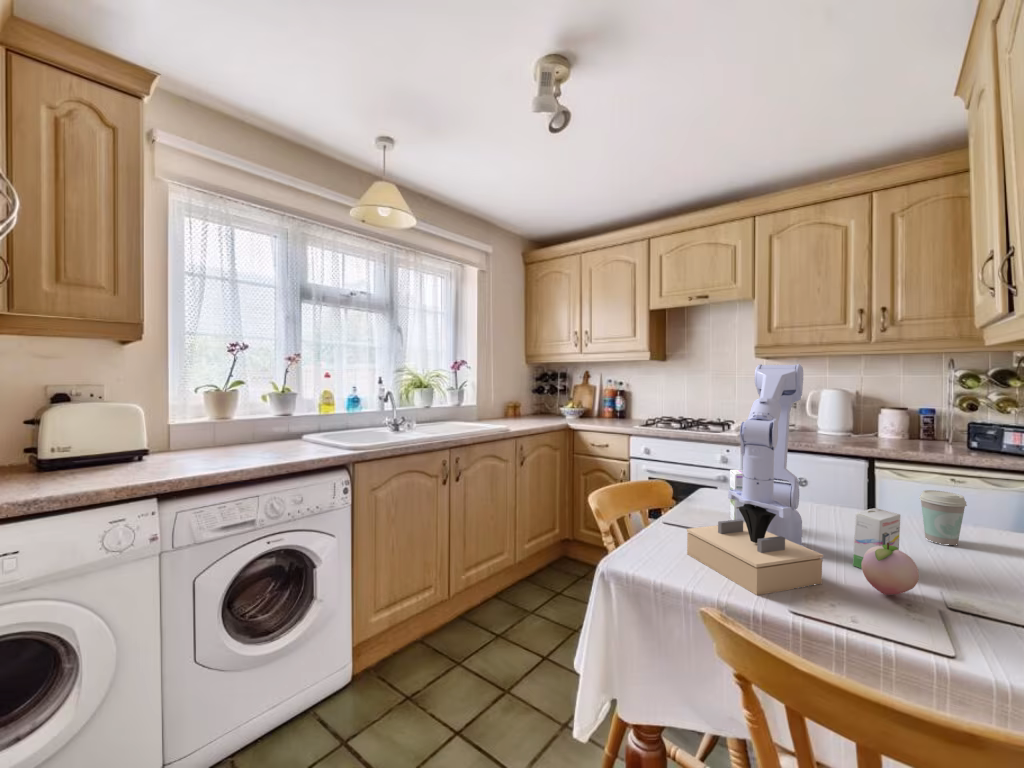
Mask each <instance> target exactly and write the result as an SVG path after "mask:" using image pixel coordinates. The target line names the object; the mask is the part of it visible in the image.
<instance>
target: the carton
mask: <svg viewBox="0 0 1024 768" xmlns="http://www.w3.org/2000/svg"><path fill="white" fill-rule="evenodd" d="M686 533H687V539H686V540H687V541H686V544H687V547H686V548H687V549H686V555H687V556H690V557H691V558H693V559H695V560H697V561H698V562H699V563H701V564H702V565H703V564H704V565H705V566H706V567H708V568H710V569H712V570H713V571H715V572H716V573H718V574H720V575H722V576H723V577H725V578H727V579H728V580H730V581H732V582H734V583H735V584H737V585H738V586H740V587H742V588H744V589H745V590H747V591H748V592H750V593H752V594H754V595H755V596H760V595H767V594H773V593H777V592H784V591H788V590H790V591H791V590H795V589H794V588H797V589H799V588H798V587H802V588H805V587H804V586H808V587H810V586H809V585H814V584H820V585H822V584H823V582H822V581H823V580H822V579H823V578H822V577H823V576H822V575H823V558H818V559H811V560H804V561H797V562H791V563H784V564H777V565H770V566H764V567H757V568H756V567H754V566H752V565H750V564H748V563H747V562H745V561H743V560H741V559H739V558H737V557H735V556H733V555H731V554H729V553H727V552H725V551H723V550H722V549H720V548H718V547H716V546H714V545H712V544H710V543H708V542H706V541H704V540H702V539H700V538H698V537H696V536H695V535H693V534H691V533H689V532H686ZM821 583H822V584H821ZM814 586H815V585H814Z"/></svg>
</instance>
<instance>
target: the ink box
mask: <svg viewBox="0 0 1024 768" xmlns="http://www.w3.org/2000/svg"><path fill="white" fill-rule="evenodd" d="M854 519H855V521H854V522H855V523H854V540H853V558H852V566H853V567H857V568H859V569H862V567H861V563H862V560H863V557H864V555H865V553H866V552H867V551H868V550H869V549H870V548H872V547H876V546H882V545H886V544H887V542H888V543H889V545H891V546H895V547H897V548H898V550H899V551H900V534H901V533H900V532H901V513H895V512H892V511H889V510H886V509H885V510H884V509H880V508H878V507H877V508H876V507H873V508H869V509H865V510H861V511H857V512H856V513H855V518H854Z"/></svg>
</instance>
